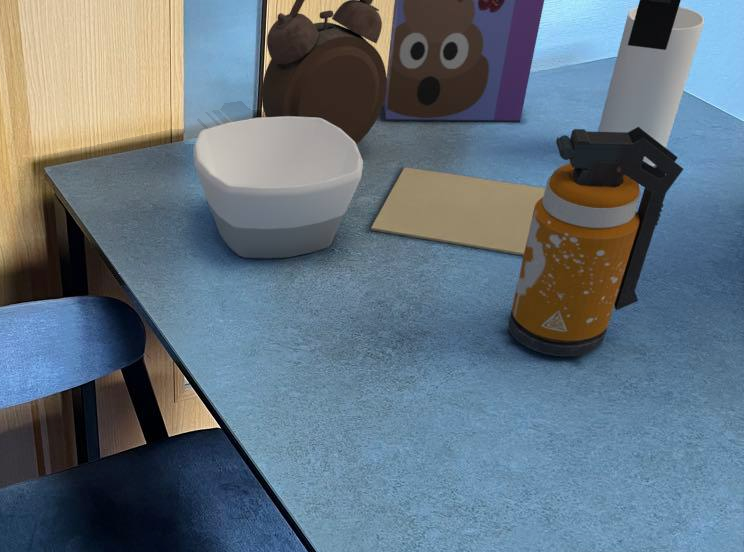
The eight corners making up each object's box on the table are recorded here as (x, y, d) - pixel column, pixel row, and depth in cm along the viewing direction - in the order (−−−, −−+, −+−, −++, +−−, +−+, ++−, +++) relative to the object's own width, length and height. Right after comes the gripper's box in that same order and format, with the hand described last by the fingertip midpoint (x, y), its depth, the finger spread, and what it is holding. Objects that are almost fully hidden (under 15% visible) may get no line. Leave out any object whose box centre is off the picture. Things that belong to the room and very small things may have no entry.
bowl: (181, 204, 120) (178, 124, 113) (327, 187, 122) (333, 108, 116) (213, 282, 108) (212, 198, 101) (375, 262, 110) (385, 178, 103)
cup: (653, 174, 123) (696, 33, 112) (585, 160, 126) (620, 22, 115) (669, 148, 128) (711, 10, 117) (602, 135, 131) (637, 0, 120)
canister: (502, 308, 103) (546, 108, 89) (615, 313, 102) (677, 111, 88) (512, 360, 97) (560, 153, 83) (633, 365, 96) (702, 157, 82)
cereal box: (385, 120, 136) (408, -87, 119) (383, 106, 139) (404, -98, 122) (519, 122, 135) (561, -87, 118) (514, 107, 138) (554, -98, 121)
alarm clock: (353, 134, 133) (367, -37, 119) (382, 156, 128) (401, -20, 114) (252, 156, 129) (255, -18, 115) (279, 180, 124) (285, 1, 110)
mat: (572, 194, 120) (573, 192, 120) (553, 260, 110) (554, 258, 109) (404, 169, 126) (404, 167, 125) (370, 230, 115) (370, 227, 115)
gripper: (702, -359, 75) (620, -36, 89) (680, -323, 58) (585, 66, 73) (815, -356, 73) (712, -26, 87) (825, -318, 56) (696, 80, 71)
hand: (654, 16), depth 80 cm, fingers open, 13 cm apart
